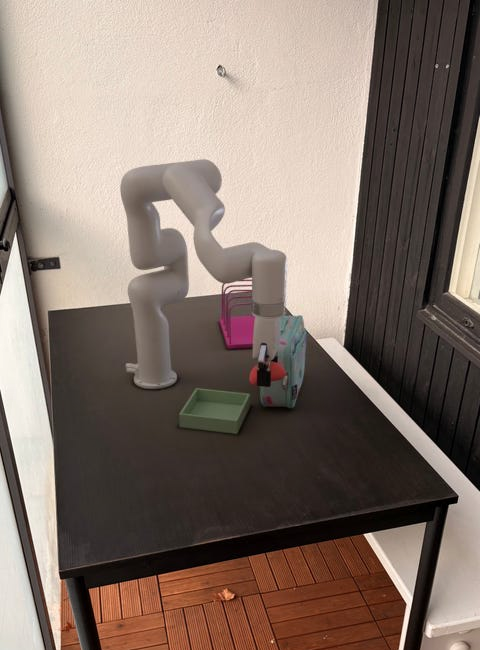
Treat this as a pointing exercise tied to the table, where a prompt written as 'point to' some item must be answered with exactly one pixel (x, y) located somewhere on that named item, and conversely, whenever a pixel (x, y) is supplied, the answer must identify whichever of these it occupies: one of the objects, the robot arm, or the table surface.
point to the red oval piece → (276, 373)
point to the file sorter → (236, 322)
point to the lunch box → (288, 364)
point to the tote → (215, 410)
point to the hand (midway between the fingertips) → (267, 378)
